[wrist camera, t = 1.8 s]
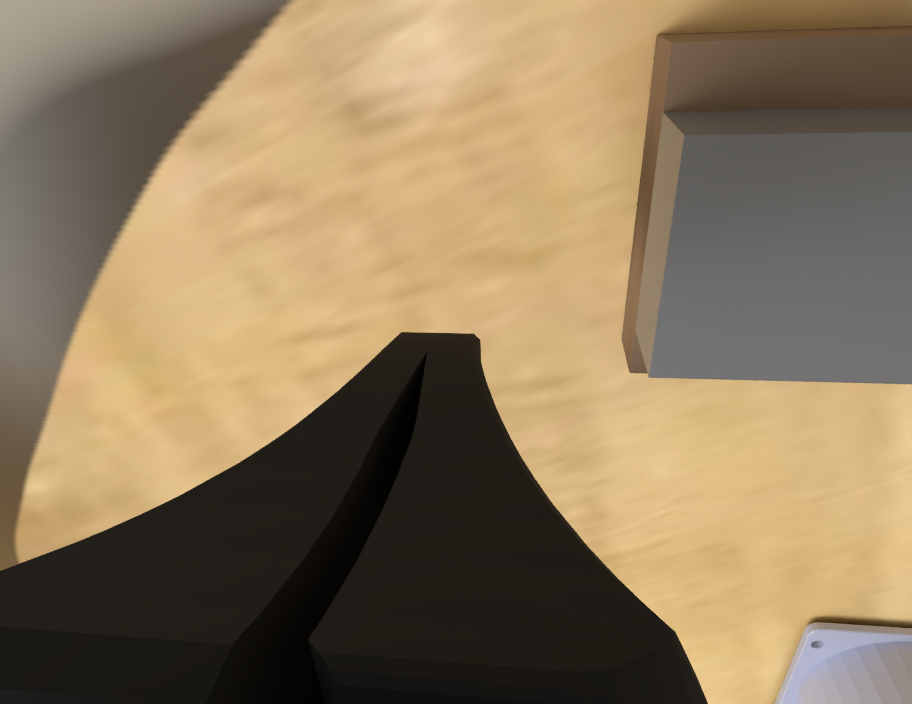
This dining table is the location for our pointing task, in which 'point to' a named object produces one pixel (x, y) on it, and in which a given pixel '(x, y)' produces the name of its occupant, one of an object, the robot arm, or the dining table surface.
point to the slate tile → (780, 247)
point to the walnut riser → (761, 96)
